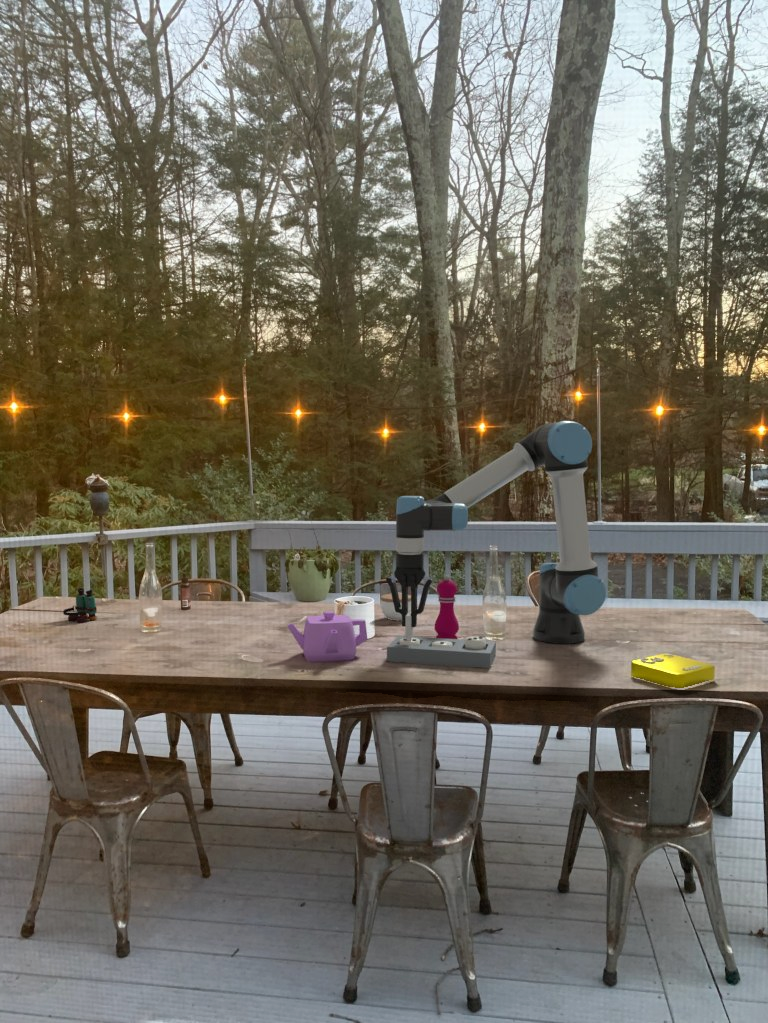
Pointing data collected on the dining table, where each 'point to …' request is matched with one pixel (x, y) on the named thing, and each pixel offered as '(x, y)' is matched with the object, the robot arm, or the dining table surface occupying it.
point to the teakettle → (329, 637)
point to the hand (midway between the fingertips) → (409, 638)
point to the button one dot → (442, 644)
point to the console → (441, 653)
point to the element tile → (672, 670)
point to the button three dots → (475, 643)
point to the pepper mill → (446, 610)
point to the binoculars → (82, 607)
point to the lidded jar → (392, 606)
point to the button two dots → (410, 642)
